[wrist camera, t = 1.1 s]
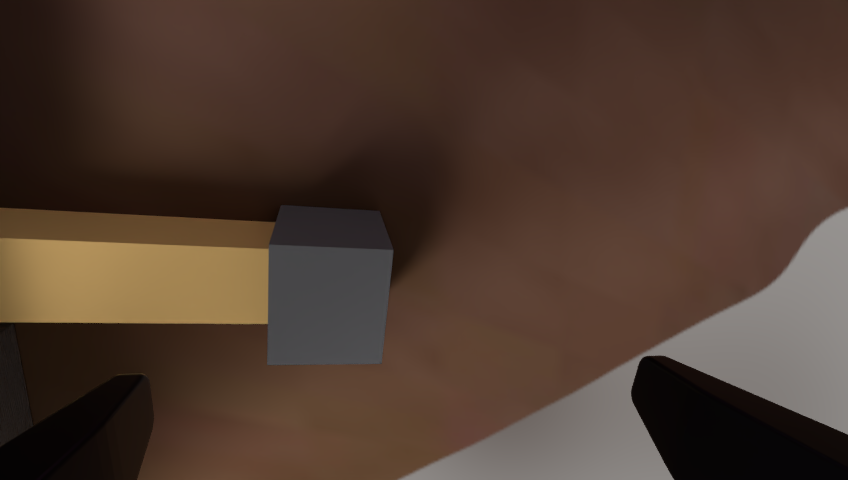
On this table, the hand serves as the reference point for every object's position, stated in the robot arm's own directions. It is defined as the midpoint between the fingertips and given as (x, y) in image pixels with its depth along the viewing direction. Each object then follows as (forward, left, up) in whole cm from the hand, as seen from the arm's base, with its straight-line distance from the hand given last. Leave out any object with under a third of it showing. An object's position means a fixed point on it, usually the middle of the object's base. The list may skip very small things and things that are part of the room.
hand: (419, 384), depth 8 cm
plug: (-3, +7, -12) cm, 14 cm away
